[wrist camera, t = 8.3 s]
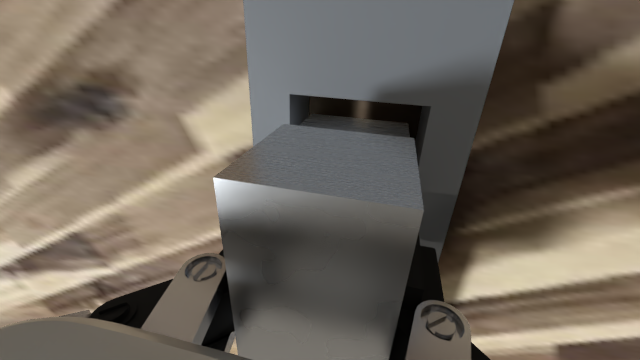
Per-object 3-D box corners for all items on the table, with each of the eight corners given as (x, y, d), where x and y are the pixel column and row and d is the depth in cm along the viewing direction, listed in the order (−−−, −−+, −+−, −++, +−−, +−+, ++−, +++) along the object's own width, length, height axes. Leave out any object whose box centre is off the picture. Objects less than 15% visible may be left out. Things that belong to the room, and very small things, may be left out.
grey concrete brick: (312, 101, 12) (213, 177, 6) (410, 110, 12) (423, 209, 5) (308, 264, 16) (246, 417, 10) (380, 279, 16) (365, 455, 9)
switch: (271, -80, 12) (235, -111, 9) (512, -87, 10) (550, -128, 8) (282, 299, 22) (266, 335, 19) (405, 328, 20) (406, 371, 18)
